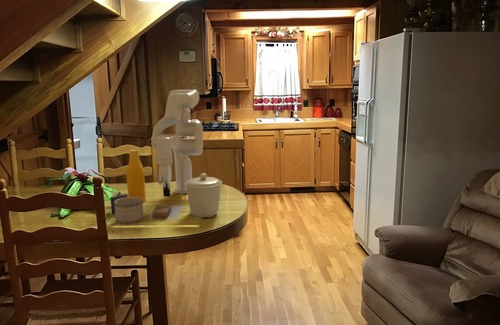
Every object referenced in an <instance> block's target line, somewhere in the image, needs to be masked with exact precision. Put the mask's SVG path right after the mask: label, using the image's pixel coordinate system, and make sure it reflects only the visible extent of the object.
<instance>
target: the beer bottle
mask: <svg viewBox="0 0 500 325" xmlns="http://www.w3.org/2000/svg"><path fill="white" fill-rule="evenodd" d="M128 159H129V160H128V164H127V165H126V166H127V168H126V172H125V173H126V184H127V185H126V187H127V194H128V197H139V198H142V200H143V203H145V202H146V201H147V199H146V198H147V197H146V182H145V170H144V166H143V164H142V162H141V159H140V155H139V150H138V149H130V150H129V158H128Z"/></svg>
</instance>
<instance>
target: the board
mask: <svg viewBox="0 0 500 325" xmlns="http://www.w3.org/2000/svg"><path fill="white" fill-rule="evenodd" d="M170 206H171V213H170V215H169V216H168V218H153V215H152V212H151V213H150V215H148V217H147V219H148V220H162V219H164V220H167V219H168V220H169V219H172V220H175V219H176V220H177V219H178V217H179V215H180V214H181V212H182V210H183V209H184V205H170Z"/></svg>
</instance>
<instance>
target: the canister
mask: <svg viewBox="0 0 500 325" xmlns="http://www.w3.org/2000/svg"><path fill="white" fill-rule="evenodd" d="M222 184H223V181H222V180H221V179H219V178H218V177H217V178H216V177H213V176H208V175H207V174H206V173H205V172H204V173H200V174H199V176H197V177H192V179H190V180H188V181H187V182H185V186H186V188H187V201H188V206H189V212H190V214H191V215H192V216H194V217H197V218H202V219H206V218H205V217H208V218H212V217H214V215H215V216H216V215H217V214H218V212H219V208H220V200H221V197H220V196H221V186H222Z"/></svg>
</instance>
